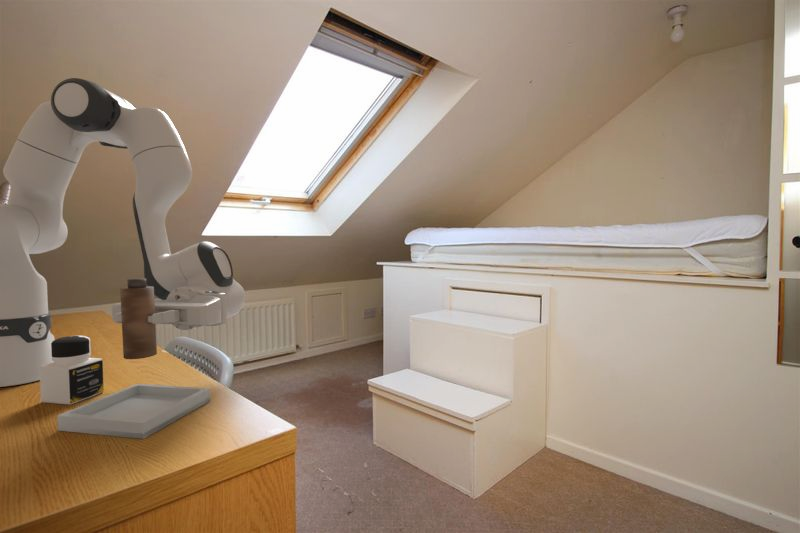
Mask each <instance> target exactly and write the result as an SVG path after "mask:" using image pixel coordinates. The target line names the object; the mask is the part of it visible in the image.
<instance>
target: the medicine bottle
mask: <svg viewBox="0 0 800 533" xmlns="http://www.w3.org/2000/svg"><path fill="white" fill-rule="evenodd" d="M91 349H92V348H91V338H90V337H88V336H86V335H69V336H62V337H58V338H56V339H55V340H54V341H53V342H52V343H51V351H52V361H54V362H53V363H49V364H45V365H42V366H40V380H39V384H40V386H39V387H40V389H39V390H40V402H41V403H46V404H56V405H68V406H70V405H71V406H72V405H74V404H77V403H79V402H82V401H85V400H88V399H91V398H93V397H95V396H98V395H101V394H103V393H104V390H105V389H104V388H105V387H104V368H103V367H104V365H103V364H104V363H103V358H101V357H100V358H99V357H91V354H92V350H91Z"/></svg>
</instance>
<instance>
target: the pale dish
mask: <svg viewBox="0 0 800 533" xmlns="http://www.w3.org/2000/svg"><path fill="white" fill-rule="evenodd" d="M210 392H211V390H210V388H208V387H207V388H206V387H196V386H195V387H193V386H191V387H190V386H181V385H180V386H176V385H164V384H149V383H148V384H147V383H136V384H133V385H130V386H128V387H125V388H122V389H121V390H117V391H115V392H113V393H111V394H107V395H106V396H103V397H100V398H98V399H95V400H92V401H91V402H90V401H89V402H88V403H85V404H83V405H80V406H78V407H76V408H72V409H70V410H67V411H65V412H63V413H60V414H58V415H57V431H58V432H69V433H79V434H80V433H81V434H89V435H99V436H109V437H121V438H132V439H141V440H142V439H143V440H144V439H146V438H147V437H150V436H151V435H153V434H155V433H157V432H158V431H160V430H162V429H164V428H166V427H168V426H169V425H171V424H172V423H174V422H176V421H178V420H179V419H181V418H183V417H185V416H186V415H188V414H191V413H192V412H194V411H195V410H197V409H199V408H202V406H204V405H206V404H207V403H209V402H211V397H210V394H211V393H210Z"/></svg>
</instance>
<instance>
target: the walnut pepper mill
mask: <svg viewBox="0 0 800 533" xmlns="http://www.w3.org/2000/svg"><path fill="white" fill-rule="evenodd" d="M119 290H120V303H121V316H122V323H121V330H122V332H121V334H122V336H121V337H122V351H123V352H122V354H123V359H124V360H139V359H140V360H141V359H146V358H151V357H154V356H157V353H158V352H157V350H158V349H157V330H156V329H157V328H156V326H157V324H148V323H147V320H148V319H147V315H148V314H152V313H155V301H154V300H155V296H154V287H153V286H147V284H146V279H145V278H144V277H143V278H142V277H141V278H128V279H127V287H121V288H119Z"/></svg>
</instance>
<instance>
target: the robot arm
mask: <svg viewBox="0 0 800 533" xmlns="http://www.w3.org/2000/svg"><path fill="white" fill-rule="evenodd" d="M96 142H97V143H99V144H100V145H101V146H103V147H110V148H118V149H128V152H129V156H130V158H131V160H132V164H133V166H134V167H133V168H134V172H135V191H134V194H133V196H132V211H133V216H134V220H135V225H136V230H137V235H138V240H139V245H140V249H141V253H142V259H143V276H144V277H143V278H145V279H146V284H147V286H153V287H154V298H157V299H154V301H155V313H152V314H148V315H147V319H148V320H147V323H148V324H156V325H172V326H173V327H175V328H176V329H178V330H182V331H188V330H189V331H190V330H193V329H199V328H202V327H211V326H223V325H226V324H227V323H228V319H230V318H231V317H233V316H235V315H236V314H238V313H239V312H240V311H241V310H242V308H243V307H244V305H245V302H246V292H245V289H244V287H243V286H242V285H241V284H240V283H239V282H237V281H236V280H235V279H234V272H233V270H234V269H233V266H232V262H231V260H230V257H229V255H228V254H227V252H226V251H225V250H224V249H222V247H220V246H218V245H217V244H215V243H213V242H211V241H206V240H203V241H200V242H198V243H195V244H192V245H189V246H188V247H184V248H183V249H181V250H179V251H177V252H175V253H172V252H171V246H170V242H169V238H168V234H167V229H166V228H167V227H166V217H167V215H168V213H169V211H170V209H171V207H172V206H174V204H175V203H176V202H177V200H178V199H180V197H181V196H183V194H185V192H186V191H187V189H188V188H189V186H190V184H191V182H192V179H193V168H192V163H191V161H190V158H189V155H188V153H187V150H186V147H185V145H184V142H183V141H182V139H181V136H180V135H179V133H178V130H177V129H176V127H175V125H174V123H173V121H172V120H171V119H170V117H169V116H168V114H167V113H165V112H164V111H162V110H161V109H159V108H157V107H153V106H140V107H137V106H135V105H133V104H132V103H131V102H129V101H128V100H127V99H125V98H124V97H122V96H120V95H118V94H116V93H115V92H114V93H113V92H112V91H110V90H108V89H106V88H103V87H102V86H101V85H100V84H97V82H96V83H95V82H93V81H90V80H88V79H83V78H78V77H77V78H76V77H71V78H67V79H66V78H65V79H64V80H62V81H60V82H58V84H57V85H56V86H55V87H54V89H53V91H52V92H51V95H50V101H45V102H42V103H40V104H39V105H38V106H37V107H36V109H35V110H34V111H33V112H32V113H31V115H30V116H29V118H28V119H27V120H26V122H25V124H24V125H23V127H22V129H21V131H20V132H19V134H18V136H17V138H16V140H15V142H14V145H13V147H12V150H11V151H10V153H9V156H8V158H7V160H6V162H5V164H4V166H3V171H2V172H3V176H4V178H5V180H6V181H7V182H8V183H9V188H10V193H9V194H10V195H9V199H8V202H7V204H5V203H0V388H3V387H10V386H17V385H23V384H29V383H32V382H36V381H37V382H38V381H40V366H42V365H45V364H49V363H53V362H54V361H52V351H51V343H52V342H53V341H54V340H56V339H55V336H54V334H52V333H51V330H50V329H52V322H53V320H52V319H53V318H52V314H51V313H50V312H49V300H48V299H49V297H48V281H47V280H46V278H45V277H44V276H43V275H42V274H40V273H39V272H38V271H37V269H36V268H35V266H34V264H33V262H32V260H31V257H30V255H36V254H37V255H38V254H44V253H48V252H51V251H54V250H56V249H58V248H60V247H61V246H63V245H64V244H65V242H66V241H67V239H68V235H69V234H68V232H69V231H68V225H67V224H66V222H65V220H64V217H63V211H64V210H63V209H64V200H65V195H66V192H67V189H68V187H69V185H70V182H71V179H72V178H73V175H74V174H75V173H74V172H75V171H76V168H77V166H78V164H79V162H80V160H81V157H82V154H83V153H84V151H85V149H86V148H87V147H88V145H90V144H92V143H96ZM111 316H112V318H111V319H112V321H113V323H117V324H122V316H121V302H117V303H116V302H115V303H114V304H112V306H111Z"/></svg>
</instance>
